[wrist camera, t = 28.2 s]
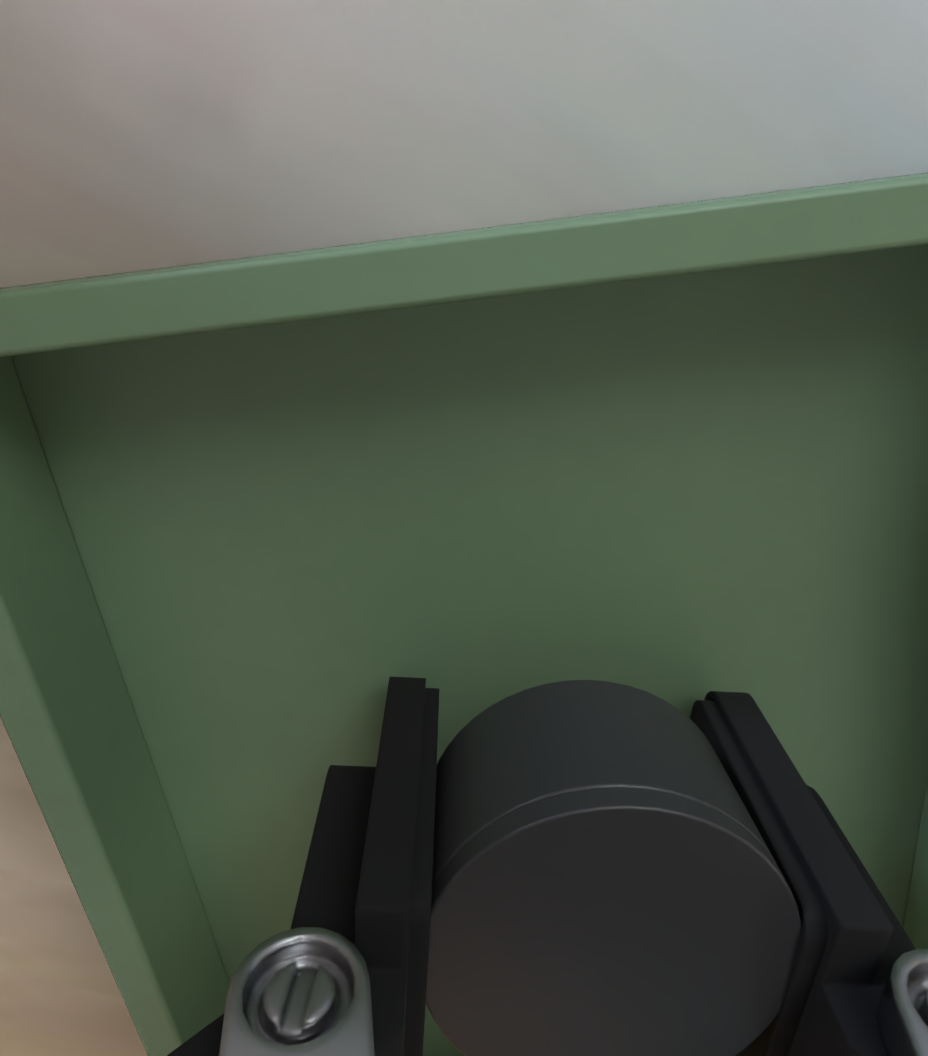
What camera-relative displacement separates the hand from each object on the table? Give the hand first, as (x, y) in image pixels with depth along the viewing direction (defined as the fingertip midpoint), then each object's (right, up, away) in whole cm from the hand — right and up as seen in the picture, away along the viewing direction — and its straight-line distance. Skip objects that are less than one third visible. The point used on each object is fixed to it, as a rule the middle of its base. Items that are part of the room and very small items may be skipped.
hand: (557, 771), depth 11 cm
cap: (0, -1, -3) cm, 3 cm away
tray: (0, 0, +1) cm, 1 cm away
